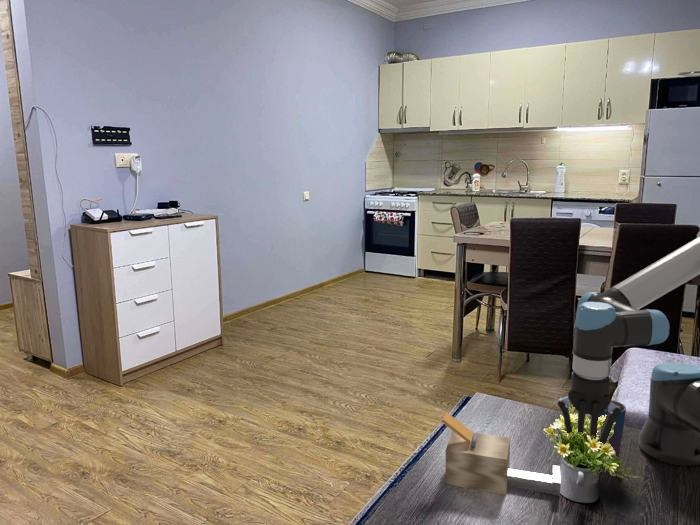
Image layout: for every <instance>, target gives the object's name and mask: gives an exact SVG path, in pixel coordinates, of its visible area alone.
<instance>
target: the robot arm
mask: <svg viewBox="0 0 700 525" xmlns="http://www.w3.org/2000/svg"><path fill="white" fill-rule="evenodd" d="M699 275H700V231H699V232H697V234H696V238H695V239H693V240H691V241H689V242H688V243H687V242H686V244H684V245H683V246H680V247H679V248H677V249H676V250H674V251H672V252H671V253H668V254H667V255H666V256H663V257H662V258H660V259H658V260H657V261H655V262H653V263H651V264H650V265H648V266H647V267H645V268H643V269H641V270H639V271H637V272H636V273H634V274H632V275H631V276H629V277H628V278H626V279H624V280H623V281H621V282H619V283H617V284H615V285H614V286H612V287H610V288H608V289H606V290H605V291H603V292H602V293H601V292H598V291H597V292H596V291H590V292H586V293H584V294H583V295H582V296H581V297H580V299H579V300H578V302H577V307H576V308H577V309H576V314H575V320H574V340H573V356H572V370H573V371H572V372H571V384H570V389H569V392H568V393H567V395H566V396H564V397H562V396H559V397H558V398H557V406H558V407H559V409H560V410H561V412H562V416H563V417H562V418H563V422H564V426H565V429H566V430H565V431H566V434H567V433H570V432H572V429H573V425H572V426H571V424H572V421H571V420H572V419H571V416H570V415H571V414H570V410H569V407H570V402H571V404H572V406H573V407H574V409H575V410H576V411H577V423H578V432H582V433H584V432H585V419H586V415H590V421H589V431H590V435H593V436H595V437H596V433H597V421H598V414H600V413H601V412H602V411H603V410H604V409H605V408H606V407H608V414H607V416H606V419H605V421H604V424H603V426H602V429H601V438H600V442H602V443H604V444H605V443H606V441H607V438H608V436H609V433H610V431H611V428H612V425H613V423H614V420H615V418H616V417H617V416H618V415H619V414H620V413H621V410H620V406H619V405H618V404H614V403H612V402H611V400H612V399H611V398H610V395H609V392H610V383H611V382H610V381H611V380H610V379H611V378H610V375H611V370H612V368H611V367H612V357H613V349H614V348H621V347H638V346H652V345H658V344H661V343H664V342H665V341H666V340H667V339H668V337H669V336H670V322H669V320H668V318H667V316H666V314H664V313H663V311H661V310H658V309H649V308H645V309H641V308H644V307H646V306H647V305H649V304H651V303H652V302H654V301H656V300H658V299H659V298H662V297H663V296H664V295H666V294H668V293H669V292H671V291H674V290H675V289H677V288H679V287H680V286H681V285H683V284H685V283H687V282H689V281H691V280H692V279H694V278H695V277H697V276H699ZM648 402H649V404H648V415H647V416H648V417H647V418H646V420H645V422H644V425H643V426H642V428H641V430H640V432H639V435H638V447H639V448H640V449H641V450H642V451H643V453H645V454H646V455H648V456H649V457H652V458H653V459H656V460H658V461H659V462H660V461H661V462H663V463H667V464H669V465H670V464H671V465H675V466H676V465H677V466H683V467H685V466H686V467H693V466H698V465H700V366H699V365H695V364H690V363H682V362H663V363H659V364H657V365H655V366H654V367H653V368H652V370H651V375H650V385H649V400H648ZM572 433H573V434H574V431H573V432H572Z"/></svg>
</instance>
